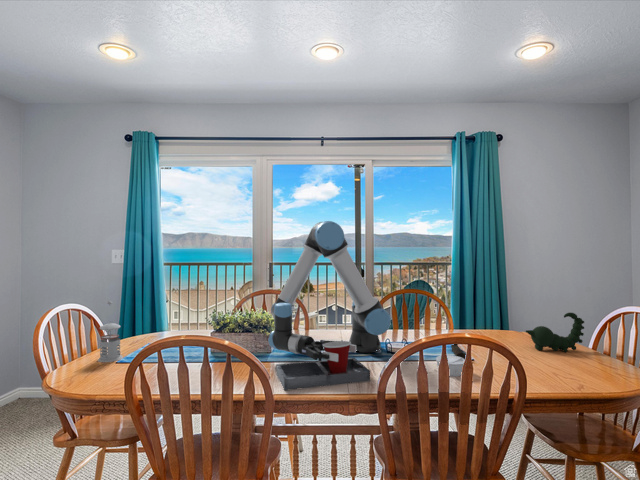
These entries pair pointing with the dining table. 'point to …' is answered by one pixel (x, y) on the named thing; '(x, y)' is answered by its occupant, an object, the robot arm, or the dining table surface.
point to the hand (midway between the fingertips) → (347, 353)
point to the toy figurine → (557, 336)
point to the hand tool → (457, 351)
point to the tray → (319, 374)
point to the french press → (110, 343)
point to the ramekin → (453, 364)
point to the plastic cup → (342, 351)
